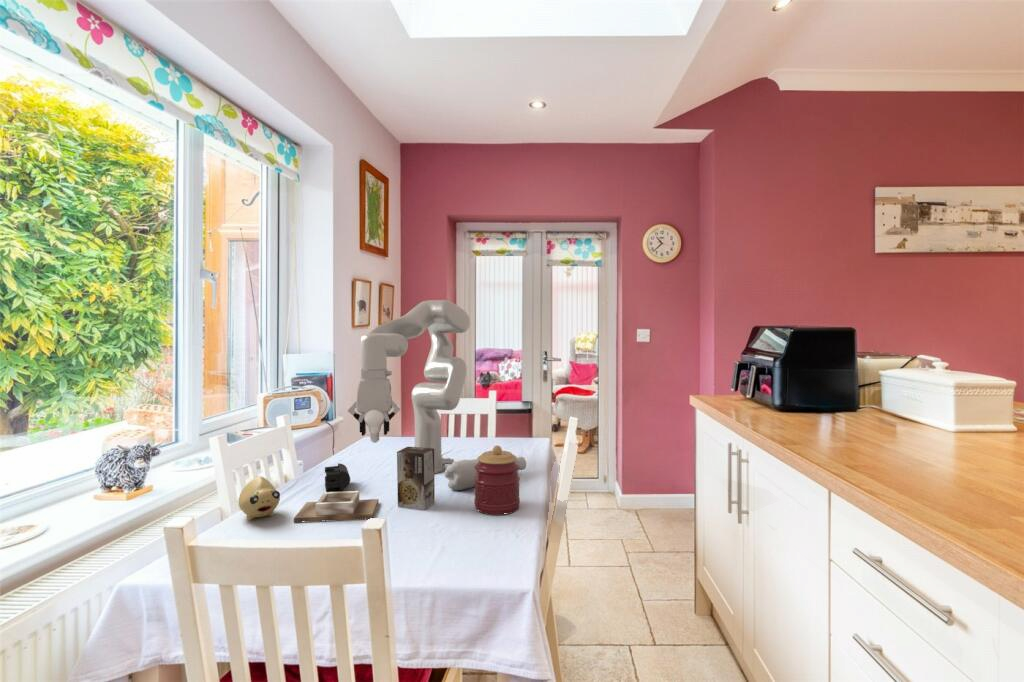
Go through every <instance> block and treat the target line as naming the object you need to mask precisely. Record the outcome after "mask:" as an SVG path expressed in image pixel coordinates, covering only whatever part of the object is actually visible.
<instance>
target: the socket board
mask: <svg viewBox="0 0 1024 682" xmlns="http://www.w3.org/2000/svg"><path fill="white" fill-rule="evenodd" d="M379 504H380V503H379V498H373V499H370V498H369V499H360V490H355V491H354V490H353V491H352V490H351V491H350V490H349V491H342V492H326V491H325V492H324V493H323V494H322V495H321V496H320V498H319V499H318V500H317V501H307V502H306V503H304V505H303V506H301V507H302V508H300V510H299V511H298V512H297V513H296V515H295V516H294V517H293V523H294V522H297V523H303V522H302V521H317V522H323V521H322V520H325V521H324V522H327V521H326V520H337V521H352V520H353V521H354V520H355V521H356V520H370V519H369V518H372V517H373V518H374V516H375V513H376V510H377V508H378V506H379ZM365 518H366V519H365ZM373 518H372V519H373Z"/></svg>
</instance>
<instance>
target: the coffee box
mask: <svg viewBox="0 0 1024 682" xmlns="http://www.w3.org/2000/svg"><path fill="white" fill-rule="evenodd" d="M396 470H397V471H396V472H397V473H396V475H397V477H396V478H397V479H396V481H397V486H396V487H397V507H398V508H405V509H413V510H421V511H423V510H424V511H426V510H427V509H428V508H430V507H431V506H433V505H434V504H435V501H436V500H435V499H436V497H435V496H436V495H435V491H436V489H435V473H434V448H421V447H415V446H406V447H404V448H401V449H399V450H398V451H397V450H396Z"/></svg>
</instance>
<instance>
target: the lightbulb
mask: <svg viewBox="0 0 1024 682" xmlns="http://www.w3.org/2000/svg"><path fill="white" fill-rule="evenodd" d="M364 421H365V423H366V427H368V431H369V436H370V437H369V438H370V442H372V443H374V444H375V443H377V442H380V432H381V428H382V426H383V425H384V421H385V418H384V414H383V413H382V412H379V411H377V410H371V411H369V412H367V413H365V415H364Z"/></svg>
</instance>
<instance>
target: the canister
mask: <svg viewBox="0 0 1024 682" xmlns="http://www.w3.org/2000/svg"><path fill="white" fill-rule="evenodd" d="M517 458H518V457H517V456H516V455H514V454H513V453H512V452H510V451H508V450H503V449H502V447H501V446H500V445H495V446H493V447H492V450H488V451H485V452H483V453H482V454H480V455H479V456H477V458H476V459H477V460H478V461H479V462H478V463H477V464H476V465H475V466H474V468H475V470H476V476H475V478H474V480H475V486H474V502H473V503H474V505H475V507H476V508H475V507H474V508H475V509H477V510H476V511H478V510H479V511H481V512H483V513H482V514H484V513H487V514H486V515H490V514H503V515H505V514H504V513H509V514H511V512H512V513H514V511H515V512H516V511H517V510H519V508H520V503H521V497H520V480H521V477H520V475H519V471H520V470H519V468H520V465H519V464H518V463H516V460H517ZM479 511H478V512H479ZM481 512H480V513H481Z"/></svg>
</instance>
